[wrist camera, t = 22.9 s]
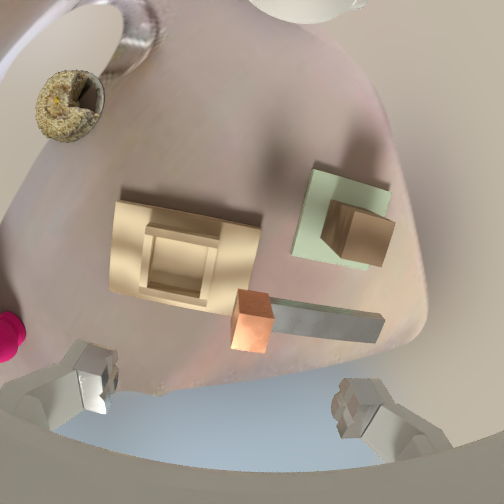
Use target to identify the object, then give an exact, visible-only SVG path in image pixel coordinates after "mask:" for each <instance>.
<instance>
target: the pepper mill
mask: <svg viewBox="0 0 504 504" xmlns="http://www.w3.org/2000/svg"><path fill="white" fill-rule="evenodd" d="M25 337H26V332H25V328H24V326H23V324H22V322H21V321H20V319H19V318H18V317H17V316H16V315H14V314H13V313H11V312H7V311H6V312H3V313H2V314H1V315H0V363H2V362H6V361H8V360H10V359H11V358H13V357H14V356H15V355H16V353H17V350H18V346H20V345H21V343H22V342H23V341H24V340H25Z"/></svg>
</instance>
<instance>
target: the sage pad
mask: <svg viewBox="0 0 504 504" xmlns="http://www.w3.org/2000/svg"><path fill="white" fill-rule="evenodd" d="M390 196H391V192H389V191H386V190H382V189H379V188H376V187H373V186H370V185H367V184H364V183H360V182H357V181H354V180H351V179H347V178H344V177H340V176H337V175H333V174H330V173H326V172H323V171H319V170H316V169H312V171H311V175H310V179H309V183H308V187H307V191H306V195H305V199H304V203H303V207H302V211H301V215H300V219H299V222H298V226H297V230H296V234H295V238H294V241H293V245H292V249H291V255H292V256H296V257H301V258H306V259H311V260H316V261H321V262H326V263H331V264H336V265H341V266H346V267H351V268H356V269H361V270H366V271H368V269H369V266H370V265H369V264H364V263H360V262H355V261H350V260H346V259H341V258H340V257H339V256H338V255H337V254H336V253H335V252H334V251H333V250H332V249H331V248H330V247H329V246H328V245H327V244H326V243H325V242H324V241H323V240H322V239H321V238H320V236H321V233H322V229H323V226H324V222H325V218H326V215H327V211H328V207H329V204H330V200H331V199H332V200H336V201H339V202H343V203H347V204H350V205H354V206H358V207H361V208H365V209H367V210H369V211H372V212H374V213H376V214H378V215H380V216H382V217H385V214H386V211H387V207H388V204H389V200H390Z"/></svg>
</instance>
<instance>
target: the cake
mask: <svg viewBox="0 0 504 504" xmlns="http://www.w3.org/2000/svg"><path fill="white" fill-rule="evenodd" d="M93 83H94V85H95V87H96V90H97V102H96V107H95V109H94V112H93V111H91V110H89V109H85V108H80V104H79V100H80V99H81V97H82V96H83V95H84V94H85V93H86V91H87V90H88V89H89V88H90V87H91V85H92V84H93ZM103 104H104V90H103V87H102V84H101V83H100V81H99V79H97V77H96V76H95V75H93V74H92V73H89V72H87V71H83V70H81V71H77V70H76V71H74V70H73V71H66V70H65V71H61V72H60V73H59V72H58V73H56V74H54V75H53V76H52V77H51V78H49V79H48V81H47V83H46V84H45V85H44V88H42V90H41V91H40V94H39V96H38V98H37V105H36V107H35V109H36V120H37V124H38V127H39V129H42V130H41V132H43V135H46V137H47V138H52V139H55V140H56V141H60V142H67V143H68V142H72V141H73V142H74V141H76V140H79V139H80V138H82V137H84V136H85V134H87V133H89V131H90V130H91V129H93V127H94V125H95V124H96V123H97V121H98V119H99V118H100V115H101V112H102V110H103Z"/></svg>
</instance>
